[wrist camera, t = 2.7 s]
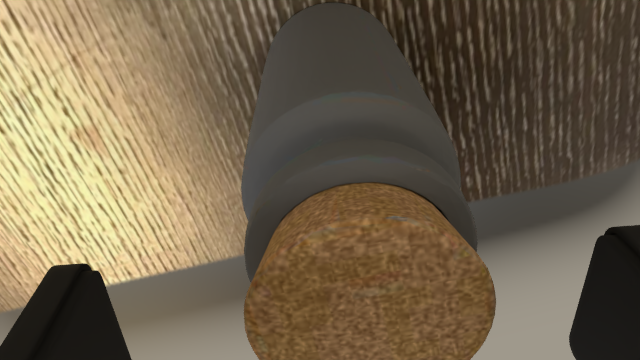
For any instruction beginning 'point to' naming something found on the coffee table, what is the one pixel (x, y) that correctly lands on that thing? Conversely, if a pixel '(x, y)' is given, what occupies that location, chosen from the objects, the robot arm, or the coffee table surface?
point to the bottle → (355, 205)
